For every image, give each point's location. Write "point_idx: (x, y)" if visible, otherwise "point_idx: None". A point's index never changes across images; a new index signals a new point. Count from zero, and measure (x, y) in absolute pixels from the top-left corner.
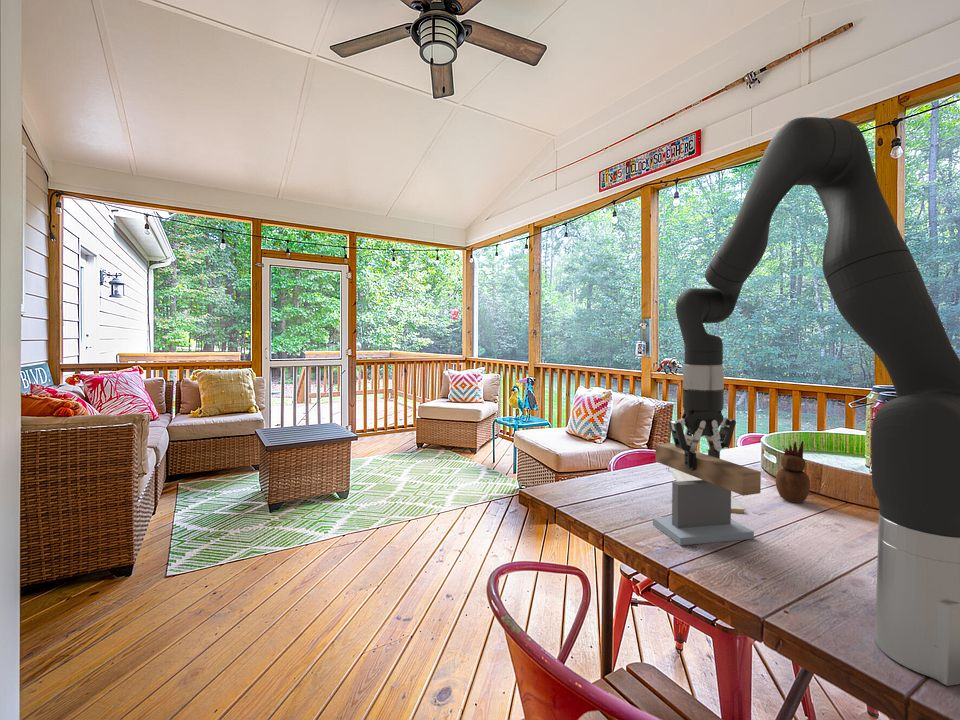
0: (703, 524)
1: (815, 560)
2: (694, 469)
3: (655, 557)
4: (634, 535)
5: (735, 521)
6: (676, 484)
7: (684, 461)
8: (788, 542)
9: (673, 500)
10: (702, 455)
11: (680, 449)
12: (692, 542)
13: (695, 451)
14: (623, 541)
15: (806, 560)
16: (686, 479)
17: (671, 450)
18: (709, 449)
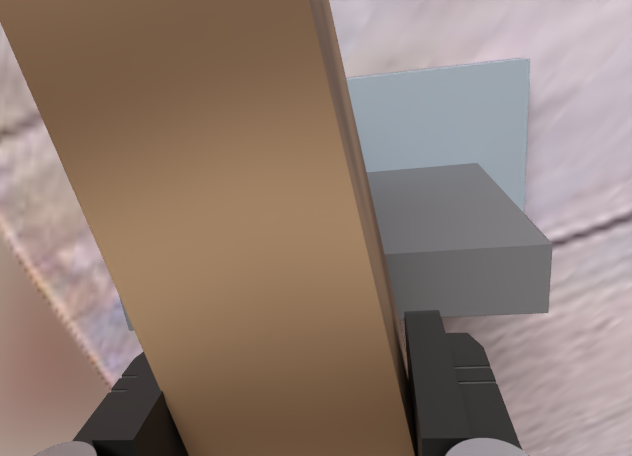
0: None
1: (588, 421)
2: None
3: (100, 345)
4: (66, 195)
5: (521, 182)
6: (125, 315)
7: (123, 374)
8: (624, 310)
9: None
10: (320, 406)
11: (162, 80)
12: None
13: (339, 221)
14: (19, 237)
15: (558, 417)
16: None
17: (31, 73)
18: (434, 450)
